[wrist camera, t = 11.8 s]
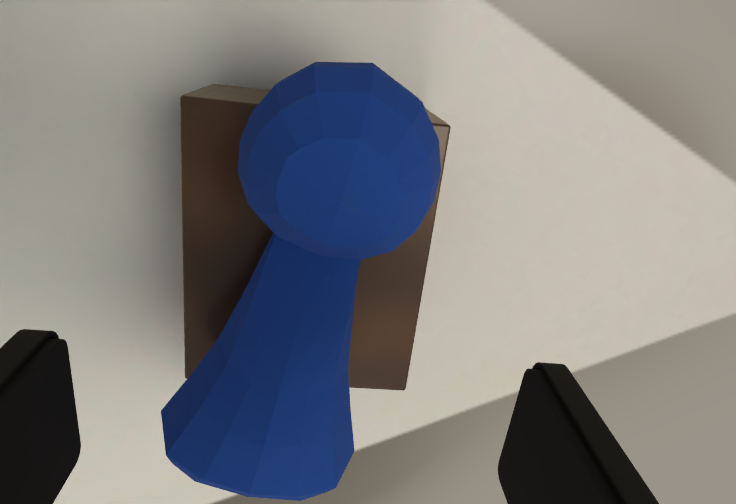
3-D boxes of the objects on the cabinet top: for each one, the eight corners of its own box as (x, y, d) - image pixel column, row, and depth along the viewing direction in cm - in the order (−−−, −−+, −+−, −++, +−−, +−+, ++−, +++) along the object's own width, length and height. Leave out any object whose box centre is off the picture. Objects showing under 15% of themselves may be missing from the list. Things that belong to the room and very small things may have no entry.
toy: (334, 428, 23) (466, 93, 17) (334, 564, 17) (530, 131, 12) (177, 395, 22) (264, 22, 16) (122, 529, 16) (226, 25, 10)
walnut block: (211, 83, 21) (179, 95, 17) (426, 107, 22) (451, 125, 18) (210, 317, 25) (184, 379, 21) (392, 329, 26) (405, 391, 22)
